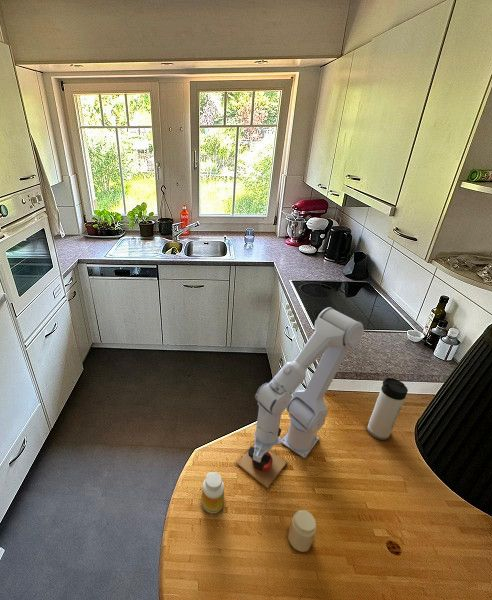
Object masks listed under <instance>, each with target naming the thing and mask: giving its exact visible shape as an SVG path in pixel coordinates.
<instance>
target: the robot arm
mask: <svg viewBox="0 0 492 600" xmlns="http://www.w3.org/2000/svg"><path fill="white" fill-rule="evenodd" d="M313 326H314V327H313V328H314V331H313V333H312V334H311V336H310V337H309V338H308V340H307V342H306V343H305V344H304V346H303V347H302V348H301V350H300V351H299V353H297V355H296V357H295V358H294V360H291V361H287V362H285V363H284V365H283V366H282V367H281V368H280V370H279V371H278V372H277V373H276V374H275V376H274V377H273V378H272V379H271V380H270V381H269V382H265V383H263V384H262V385H261V386H259V387H258V389H257V391H256V393H255V394H254V398H255V400H256V401H257V406H258V413H257V419H256V427H255V431H254V445H255V448H253V446H250V447H249V449H248V451H249V452H248V451H247V452H248V455H249V456H250V457H251V459H252V461H253V464H254V468H255V469H257V470H260V471H262V470H263V468H264V466H265V465H266V464H268V463H269V461H270V458H271V457H270V456H268V455H266V454H265V453H266V452H267V451H269V450H270V451H271V449H272V448H273V447H274V446H281V444H283V445H284V446H285V447H287V448H288V449H290V450H291V451H292V452H294V453H295V454H297V455H298V456H300V457H302V458H304V459H305V458H306V457H308V454H309V453H310V452H311V450H312V449H313V448H314V447H315V445H316V444H317V442H318V441H319V440H320V437H318V436H317V434H318V431H320V430H321V429H322V428H323V427H324V424H325V422H326V417H327V415H328V412H329V409H328V407H327V405H326V402H325V400H324V397H325V395H326V394H327V391H328V390H329V388H330V386H331V384H332V382H333V380H334V378H335V377H336V375H337V374H338V371H339V369H340V367H341V365H342V363H343V362H344V360H345V357H346V355H347V354H348V352H349V351H352V352H353V351H355V349H356V348H357V346H358V344H360V343H359V342H360V341H361V339H362V338H363V335H364V333H365V329H364V324H363V323H362V322H361V321H357V320H356V319H354V318H352V317H349V316H348V315H346V314H344V313H342V312H340V311H338V310H336V309H334V308H333V307H331V306H329V307H325V308H324V309H323V310H322V311H321V312H320V313H319V314H318V316H317V318H316V319H315V321H314V325H313ZM320 357H321V358H320ZM319 358H320V360H319V362H318V364H317V366H316V367H315V370H314V372H313V374H312V375H311V377H310V380H309V381H308V383H307V385H306V388H305V389H299V390H298V387H299V386H300V385H301V384H302V382H303V381H305V379H306V378H307V374H306V371H307V369H309V367H311V366H312V365H313V364H314V363H315V361H316V360H317V359H319ZM285 410H286V411H287V413H288V417H289V425H288V429H287V433H286V434H285V435H284V436H283V437H282V438H281V437H280V436H281V433H282V428H281V427H280V425H281V419H282V413H283V412H285Z"/></svg>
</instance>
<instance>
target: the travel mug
mask: <svg viewBox="0 0 492 600" xmlns="http://www.w3.org/2000/svg"><path fill="white" fill-rule="evenodd" d="M408 392H409V389H408V387H407V386H406V385H405V384H404V382H402V381H401V380H399V379H397V378H393V377H385V378H384V380H383V381H382V386H381V388H380V390H379V394H378V395H377V399H376V402H375V405H374V407H373V411H372V413H371V415H370V418H369V421H368V424H367V426H366V429H367V431H368V433H369V435H371V436H372V437H374V438H375V439H377V440H384V441H385V440H387V439H389V438H390V437H391V434H392V431H393V428H394V427H395V424H396V421H397V420H398V417H399V414H400V412H401V409H402V407H403V405H404V403H405V400H406V397H407V394H408Z"/></svg>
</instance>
